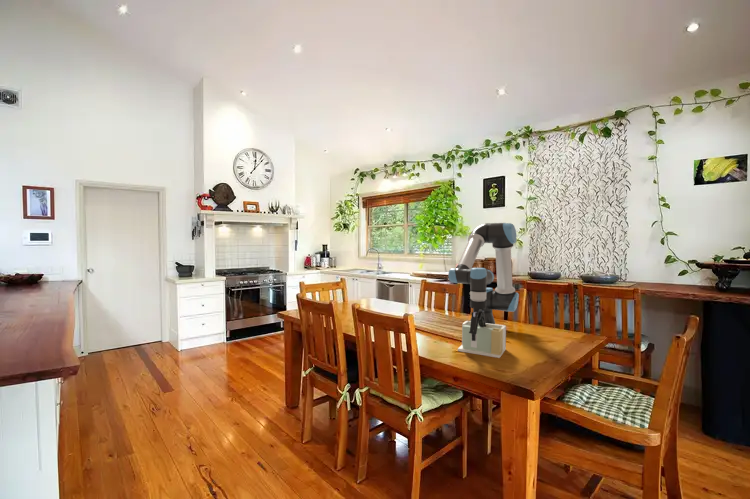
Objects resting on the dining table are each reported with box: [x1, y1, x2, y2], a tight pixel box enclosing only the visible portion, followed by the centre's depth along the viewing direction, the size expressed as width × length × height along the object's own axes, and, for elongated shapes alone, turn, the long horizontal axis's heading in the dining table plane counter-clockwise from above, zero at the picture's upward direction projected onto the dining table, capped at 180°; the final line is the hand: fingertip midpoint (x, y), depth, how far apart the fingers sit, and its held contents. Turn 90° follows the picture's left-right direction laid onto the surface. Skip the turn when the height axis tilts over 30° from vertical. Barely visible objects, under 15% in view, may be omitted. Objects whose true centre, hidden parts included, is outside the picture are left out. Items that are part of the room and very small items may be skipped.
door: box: [463, 325, 502, 355], centre depth 178 cm, size 5×18×11 cm, turn 59°
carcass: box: [457, 320, 507, 359], centre depth 181 cm, size 14×20×12 cm
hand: (477, 343), depth 178 cm, fingers open, 12 cm apart
